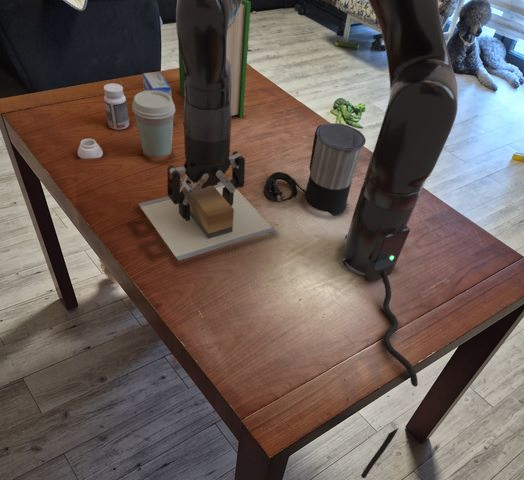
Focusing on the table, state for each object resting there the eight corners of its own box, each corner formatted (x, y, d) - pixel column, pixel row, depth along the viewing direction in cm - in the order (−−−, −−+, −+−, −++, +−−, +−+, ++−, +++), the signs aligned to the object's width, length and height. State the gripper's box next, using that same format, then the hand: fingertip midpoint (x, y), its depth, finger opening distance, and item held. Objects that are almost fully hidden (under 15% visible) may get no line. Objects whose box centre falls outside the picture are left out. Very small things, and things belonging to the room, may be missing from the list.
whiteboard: (274, 235, 90) (275, 230, 89) (178, 265, 82) (178, 260, 81) (229, 186, 98) (229, 180, 97) (138, 209, 90) (138, 203, 89)
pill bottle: (131, 121, 110) (127, 84, 103) (126, 131, 107) (121, 93, 100) (111, 118, 110) (105, 80, 103) (105, 128, 107) (99, 90, 100)
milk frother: (355, 211, 97) (376, 142, 86) (293, 231, 91) (306, 160, 79) (315, 175, 104) (330, 107, 92) (255, 191, 98) (262, 120, 86)
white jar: (80, 163, 98) (105, 160, 99) (77, 149, 95) (102, 147, 97) (76, 150, 100) (100, 148, 102) (73, 137, 98) (98, 134, 99)
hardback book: (242, 117, 117) (250, 2, 98) (218, 123, 114) (221, 6, 95) (204, 87, 125) (204, -25, 106) (180, 92, 121) (176, -22, 102)
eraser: (232, 231, 87) (233, 209, 83) (208, 239, 85) (208, 216, 81) (202, 196, 93) (203, 173, 89) (179, 202, 91) (178, 179, 87)
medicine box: (145, 111, 114) (141, 72, 107) (163, 109, 115) (160, 71, 108) (154, 127, 109) (151, 88, 103) (173, 125, 111) (171, 86, 104)
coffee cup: (182, 163, 101) (180, 107, 92) (142, 168, 99) (136, 110, 89) (171, 143, 106) (168, 87, 96) (133, 147, 103) (126, 90, 94)
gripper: (176, 148, 71) (180, 234, 84) (257, 131, 76) (249, 214, 89) (156, 124, 74) (163, 210, 87) (234, 110, 80) (230, 193, 93)
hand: (206, 212), depth 88 cm, fingers open, 8 cm apart
